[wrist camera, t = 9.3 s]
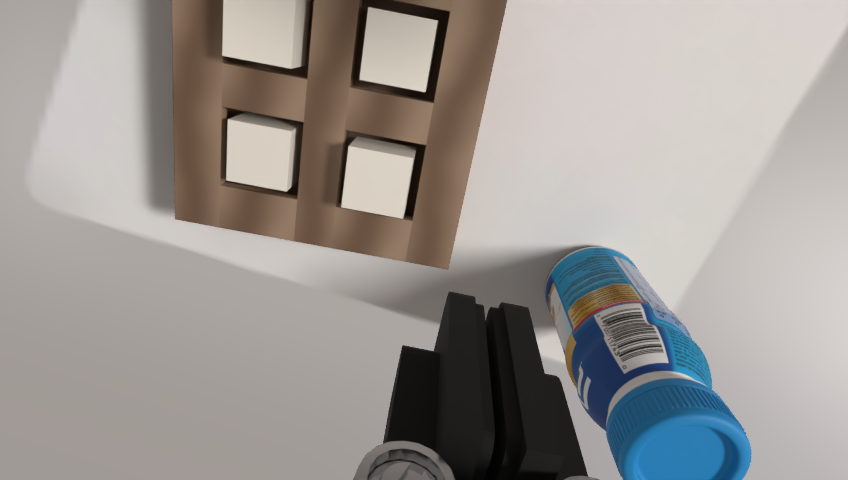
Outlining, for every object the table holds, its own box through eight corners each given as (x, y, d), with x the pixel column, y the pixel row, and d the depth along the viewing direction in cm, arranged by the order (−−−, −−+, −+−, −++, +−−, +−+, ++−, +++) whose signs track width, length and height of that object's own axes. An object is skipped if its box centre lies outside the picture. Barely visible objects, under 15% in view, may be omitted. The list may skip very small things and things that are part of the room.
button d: (416, 147, 39) (413, 158, 35) (406, 203, 40) (402, 218, 37) (357, 136, 38) (348, 145, 35) (350, 193, 40) (341, 207, 37)
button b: (304, 123, 39) (291, 131, 36) (299, 179, 41) (286, 191, 38) (246, 112, 39) (227, 119, 36) (244, 168, 41) (226, 180, 38)
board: (509, -31, 36) (515, -39, 32) (448, 249, 44) (448, 269, 40) (199, -92, 35) (170, -106, 31) (198, 203, 44) (175, 219, 40)
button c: (310, -4, 35) (296, -8, 32) (305, 65, 37) (290, 68, 33) (245, -17, 35) (223, -22, 32) (242, 53, 37) (222, 55, 33)
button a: (439, 21, 36) (437, 20, 33) (427, 86, 38) (425, 92, 35) (375, 9, 36) (368, 7, 33) (367, 75, 38) (359, 79, 35)
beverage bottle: (658, 262, 44) (809, 432, 25) (610, 339, 47) (712, 540, 28) (569, 228, 43) (657, 378, 24) (526, 308, 46) (575, 495, 27)
